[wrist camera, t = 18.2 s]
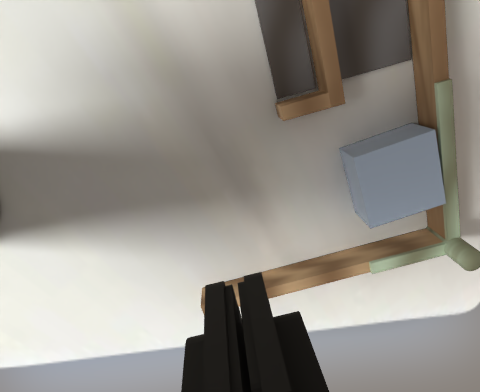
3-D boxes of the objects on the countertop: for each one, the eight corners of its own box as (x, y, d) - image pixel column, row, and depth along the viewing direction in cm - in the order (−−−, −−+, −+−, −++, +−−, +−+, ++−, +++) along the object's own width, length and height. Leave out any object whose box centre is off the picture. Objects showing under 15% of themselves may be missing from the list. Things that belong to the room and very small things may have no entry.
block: (354, 211, 36) (370, 228, 32) (338, 147, 33) (353, 158, 29) (422, 188, 35) (445, 203, 31) (410, 122, 33) (435, 129, 29)
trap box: (206, 299, 38) (204, 340, 32) (77, -44, 27) (39, -74, 21) (444, 237, 37) (484, 267, 31) (416, -151, 25) (471, -212, 20)
